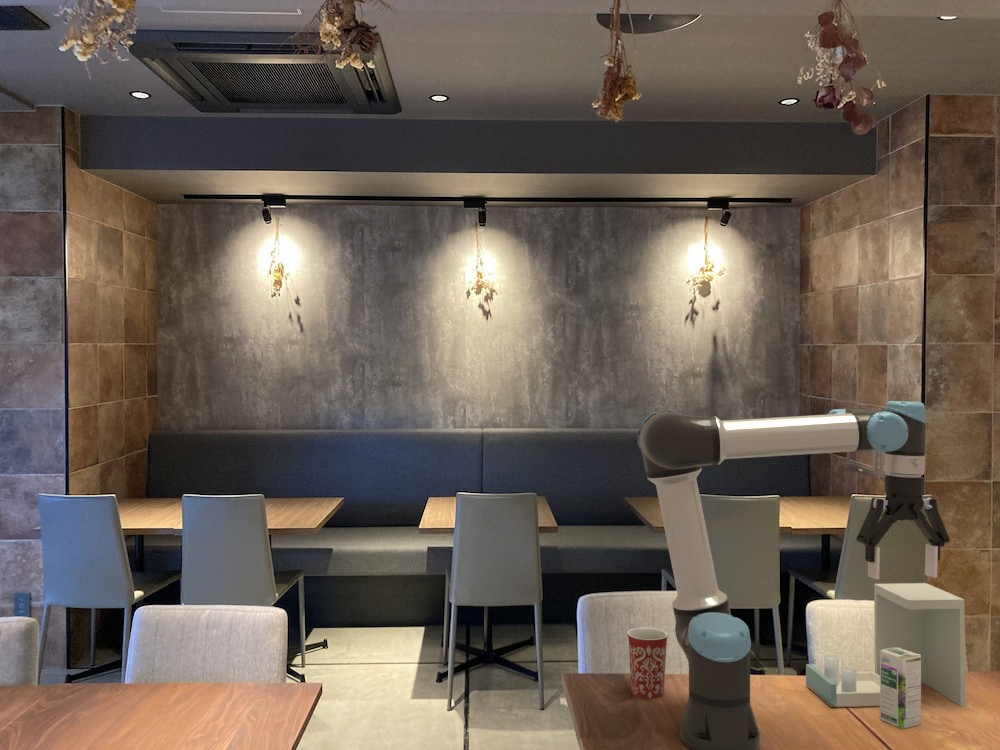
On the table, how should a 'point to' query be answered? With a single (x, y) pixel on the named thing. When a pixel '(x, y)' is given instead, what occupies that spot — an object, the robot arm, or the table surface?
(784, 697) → the table surface
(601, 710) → the table surface
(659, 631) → the mug
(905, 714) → the syrup box
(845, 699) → the tray
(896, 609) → the white open shelf
